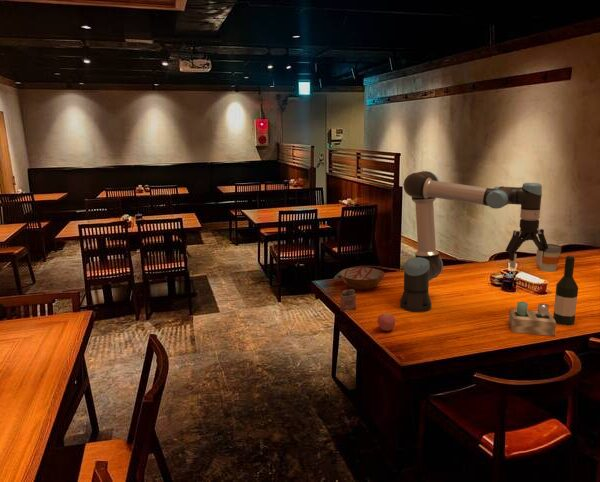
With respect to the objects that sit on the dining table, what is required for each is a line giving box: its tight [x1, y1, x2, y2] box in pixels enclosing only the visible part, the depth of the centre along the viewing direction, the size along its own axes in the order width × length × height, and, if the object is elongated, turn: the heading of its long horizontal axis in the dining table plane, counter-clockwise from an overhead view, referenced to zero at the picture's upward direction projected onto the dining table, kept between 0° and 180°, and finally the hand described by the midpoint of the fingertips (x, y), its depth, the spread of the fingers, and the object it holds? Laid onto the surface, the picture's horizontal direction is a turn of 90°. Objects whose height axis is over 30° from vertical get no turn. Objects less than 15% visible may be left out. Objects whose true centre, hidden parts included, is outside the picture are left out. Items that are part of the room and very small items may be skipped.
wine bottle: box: [552, 254, 579, 326], centre depth 202 cm, size 8×8×30 cm
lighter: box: [339, 288, 357, 312], centre depth 224 cm, size 8×3×10 cm, turn 105°
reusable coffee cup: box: [537, 243, 562, 273], centre depth 283 cm, size 12×12×15 cm
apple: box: [377, 312, 396, 332], centre depth 199 cm, size 7×7×8 cm
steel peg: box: [537, 302, 550, 319], centre depth 195 cm, size 4×4×6 cm
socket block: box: [508, 308, 557, 337], centre depth 198 cm, size 16×12×6 cm
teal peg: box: [516, 301, 529, 317], centre depth 198 cm, size 4×4×6 cm
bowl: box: [338, 266, 386, 291], centre depth 259 cm, size 25×25×8 cm
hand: (525, 266), depth 205 cm, fingers open, 13 cm apart
